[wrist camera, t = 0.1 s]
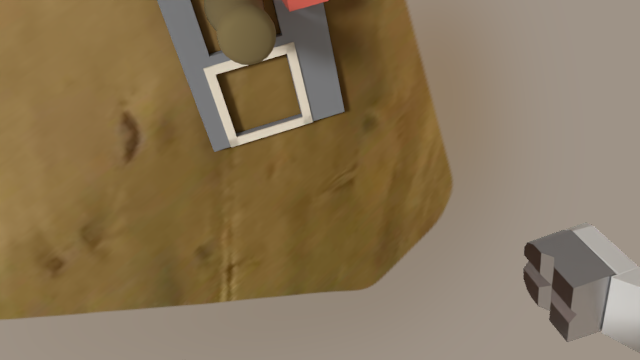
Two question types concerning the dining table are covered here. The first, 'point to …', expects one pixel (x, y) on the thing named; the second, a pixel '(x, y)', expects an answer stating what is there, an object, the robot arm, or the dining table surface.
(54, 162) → the dining table surface
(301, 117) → the grey and white frame
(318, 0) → the red cube
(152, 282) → the dining table surface
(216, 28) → the cork
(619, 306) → the robot arm
